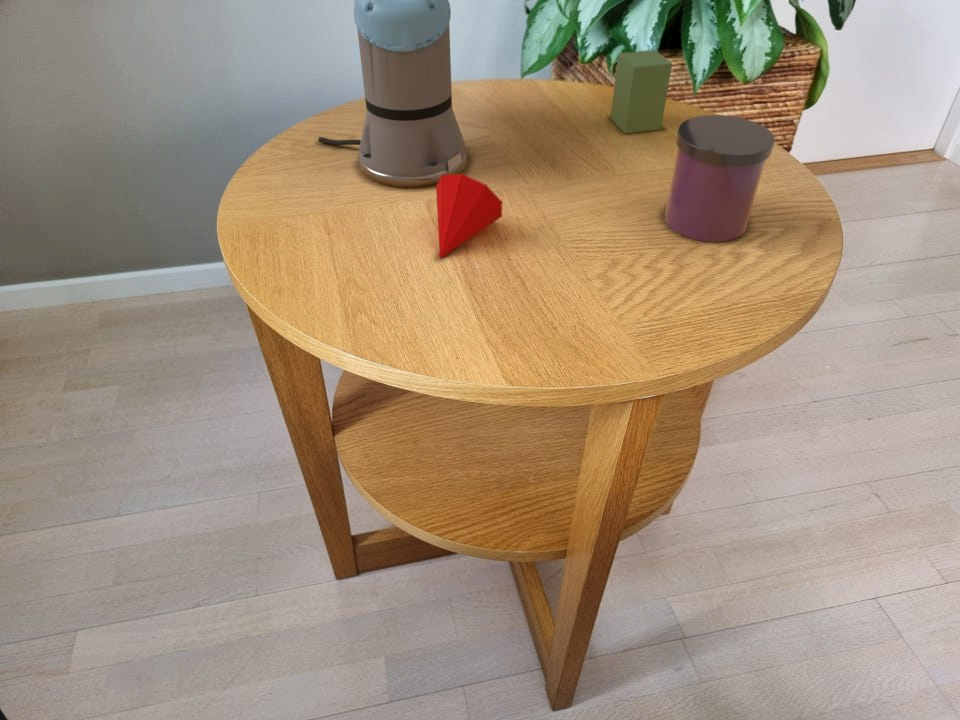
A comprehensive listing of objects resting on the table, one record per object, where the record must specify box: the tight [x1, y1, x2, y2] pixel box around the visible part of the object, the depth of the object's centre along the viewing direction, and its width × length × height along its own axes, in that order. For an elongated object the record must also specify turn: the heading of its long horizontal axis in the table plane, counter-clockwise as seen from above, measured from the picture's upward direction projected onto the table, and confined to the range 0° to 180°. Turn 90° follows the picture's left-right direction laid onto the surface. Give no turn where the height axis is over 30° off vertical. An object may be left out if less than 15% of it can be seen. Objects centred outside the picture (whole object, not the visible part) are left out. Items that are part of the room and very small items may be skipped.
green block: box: [610, 49, 673, 135], centre depth 106 cm, size 6×6×10 cm
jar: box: [664, 114, 776, 243], centre depth 84 cm, size 11×11×11 cm
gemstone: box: [435, 173, 503, 259], centre depth 84 cm, size 9×9×10 cm
